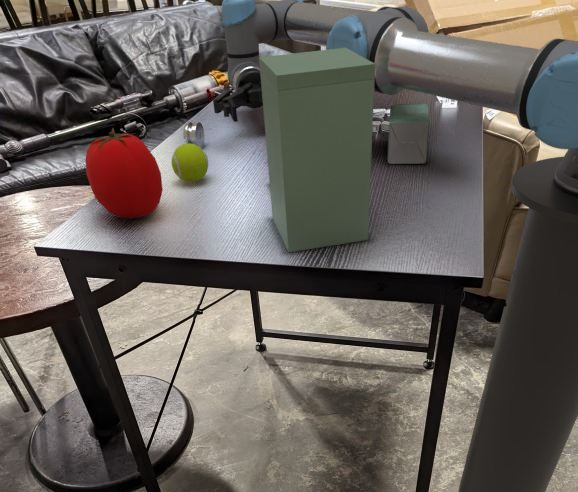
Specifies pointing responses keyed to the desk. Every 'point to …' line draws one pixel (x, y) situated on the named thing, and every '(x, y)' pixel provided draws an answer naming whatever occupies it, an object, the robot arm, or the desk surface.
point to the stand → (319, 145)
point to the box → (408, 134)
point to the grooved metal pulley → (194, 133)
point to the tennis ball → (189, 162)
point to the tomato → (124, 175)
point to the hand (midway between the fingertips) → (269, 110)
